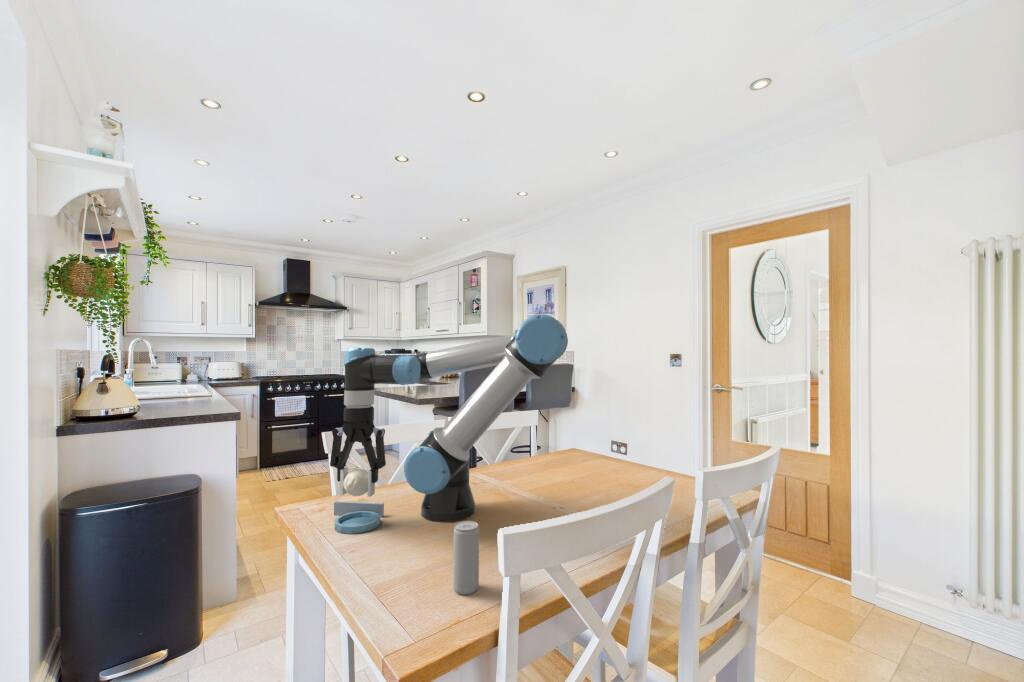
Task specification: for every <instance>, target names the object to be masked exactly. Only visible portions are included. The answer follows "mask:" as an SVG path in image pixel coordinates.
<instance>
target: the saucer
mask: <svg viewBox="0 0 1024 682" xmlns="http://www.w3.org/2000/svg"><path fill="white" fill-rule="evenodd" d="M380 523H381V517H380V516H379V514H378V513H375V512H372V511H358V512H350V513H347V514H344V515H338V517H336V518H334V530H335V532H337V533H340V534H343V535H345V534H346V535H355V534H356V535H357V534H363V533H367V532H370V531H373V530H375V529H376V528H378V527H379V525H380Z"/></svg>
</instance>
